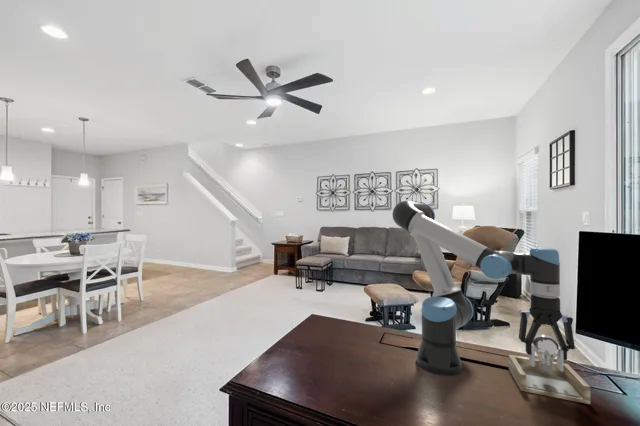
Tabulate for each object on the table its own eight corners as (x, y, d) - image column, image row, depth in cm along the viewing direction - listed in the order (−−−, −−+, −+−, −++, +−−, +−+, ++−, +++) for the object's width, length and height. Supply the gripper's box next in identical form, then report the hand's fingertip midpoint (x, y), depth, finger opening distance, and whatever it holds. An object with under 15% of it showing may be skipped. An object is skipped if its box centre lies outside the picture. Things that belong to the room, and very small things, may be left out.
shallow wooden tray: (520, 390, 86) (520, 374, 87) (508, 368, 99) (508, 354, 100) (590, 404, 80) (590, 386, 80) (567, 379, 93) (567, 364, 93)
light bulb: (565, 379, 86) (564, 340, 86) (539, 377, 87) (538, 338, 87) (551, 368, 92) (550, 331, 93) (527, 365, 94) (527, 330, 94)
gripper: (512, 294, 90) (513, 366, 90) (589, 302, 83) (591, 379, 82) (506, 289, 97) (507, 355, 97) (577, 295, 90) (578, 367, 89)
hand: (545, 366), depth 89 cm, fingers closed on light bulb, 7 cm apart
